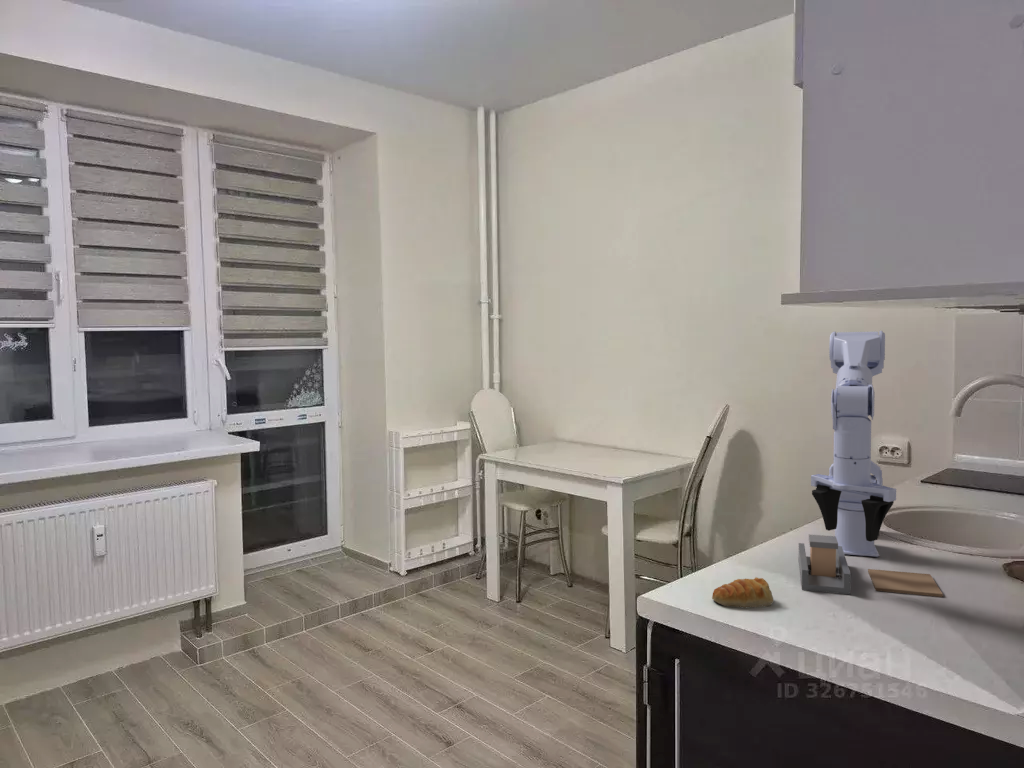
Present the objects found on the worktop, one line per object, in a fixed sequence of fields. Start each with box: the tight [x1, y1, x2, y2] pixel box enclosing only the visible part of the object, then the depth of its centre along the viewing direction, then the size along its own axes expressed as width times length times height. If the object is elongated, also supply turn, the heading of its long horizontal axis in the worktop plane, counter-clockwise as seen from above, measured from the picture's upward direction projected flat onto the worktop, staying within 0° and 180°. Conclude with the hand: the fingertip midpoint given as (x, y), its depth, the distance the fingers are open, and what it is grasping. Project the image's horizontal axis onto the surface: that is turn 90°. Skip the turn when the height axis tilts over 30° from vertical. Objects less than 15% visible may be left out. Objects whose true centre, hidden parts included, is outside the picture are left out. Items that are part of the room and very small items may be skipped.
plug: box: [808, 534, 838, 577], centre depth 128 cm, size 5×5×7 cm
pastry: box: [711, 576, 774, 609], centre depth 118 cm, size 9×7×4 cm
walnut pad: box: [867, 568, 944, 598], centre depth 124 cm, size 10×10×1 cm
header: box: [797, 542, 852, 595], centre depth 128 cm, size 16×8×4 cm, turn 160°
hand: (850, 534), depth 121 cm, fingers open, 7 cm apart
